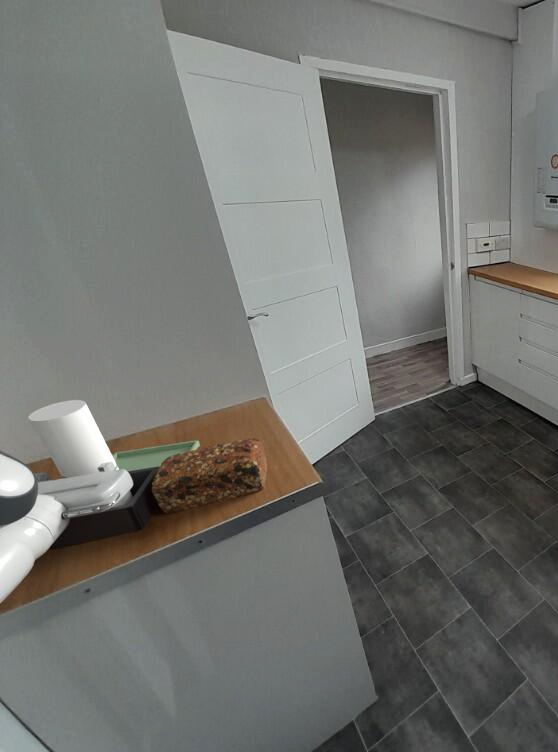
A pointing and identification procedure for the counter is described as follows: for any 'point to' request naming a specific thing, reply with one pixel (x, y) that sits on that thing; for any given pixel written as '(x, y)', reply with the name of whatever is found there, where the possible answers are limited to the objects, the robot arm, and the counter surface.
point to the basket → (115, 514)
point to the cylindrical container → (73, 440)
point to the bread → (210, 475)
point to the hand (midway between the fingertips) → (76, 470)
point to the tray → (151, 455)
